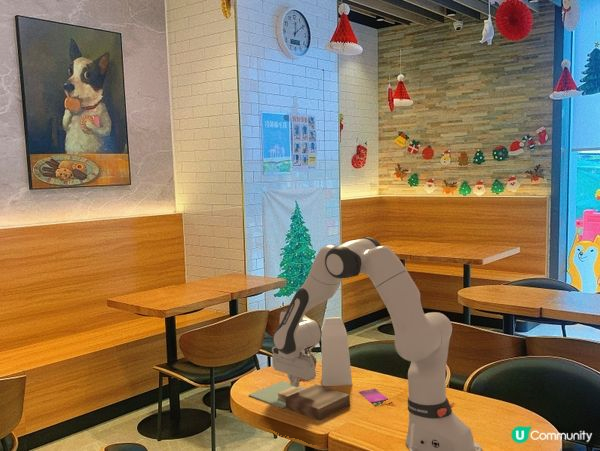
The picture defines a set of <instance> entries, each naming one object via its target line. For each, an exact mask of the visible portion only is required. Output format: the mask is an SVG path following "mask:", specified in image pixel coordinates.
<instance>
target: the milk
mask: <svg viewBox="0 0 600 451" xmlns="http://www.w3.org/2000/svg"><path fill="white" fill-rule="evenodd" d="M321 331H322V337H321V340H320V342H321V386H323V387H331V386H332V387H333V386H352V385H353V376H352V369H351V359H350V358H351V357H350V347H349V342H348V341H349V340H348V334H347V329H346V327H345V324H344V321H343V319H342V317H340V316H335V317H326V318H325V320H324V322H323V325H322V328H321Z"/></svg>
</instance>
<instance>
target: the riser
mask: <svg viewBox="0 0 600 451" xmlns="http://www.w3.org/2000/svg"><path fill="white" fill-rule="evenodd" d="M350 395H351V394H349V393H345V392H342V391H339V390H335V389H334V388H329V387H327V386H322V385H319V384H314V385H311V386H309V387H307V388H306V389H304V390H302V391H299V392H297V393H294V394H292V395H290V396H287V397H285V401H286V408H285V409H287V410H290V411H293V412H296V413H299V414H301V415H304V416H306V417H309V418H312V419H314V420H317V421H321V420H324V419H325V418H327V417H329V416H331V415H333V414H336V413H337V412H338V413H339V411H341V410H344V409H346V408H348V407H350V406H351V397H350Z"/></svg>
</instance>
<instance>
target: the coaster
mask: <svg viewBox="0 0 600 451" xmlns="http://www.w3.org/2000/svg"><path fill="white" fill-rule="evenodd" d="M299 391H302V389H299V388H296V387H291V388H289V389H286V390H284V391H282V392H279V393H278V398H279V399H282V400H285V397H287V396H290V395H292V394H294V393H297V392H299Z"/></svg>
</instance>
